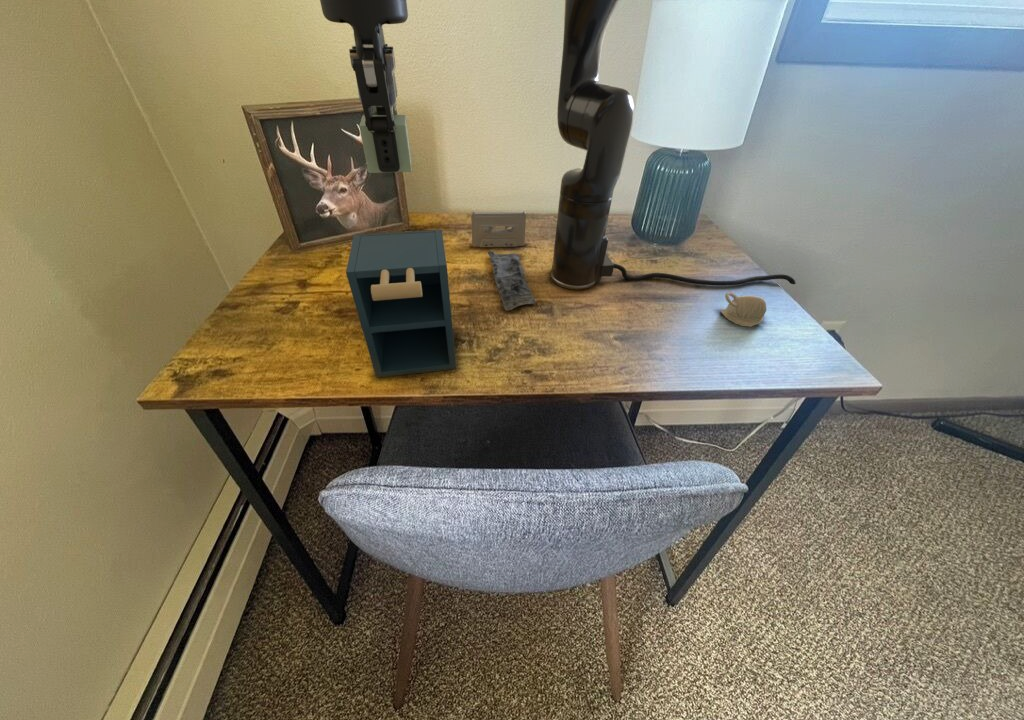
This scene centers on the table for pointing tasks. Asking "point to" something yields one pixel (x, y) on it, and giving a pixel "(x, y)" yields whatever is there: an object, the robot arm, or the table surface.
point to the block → (401, 141)
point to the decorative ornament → (745, 310)
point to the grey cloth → (510, 280)
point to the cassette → (498, 237)
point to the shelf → (403, 301)
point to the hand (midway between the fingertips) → (390, 162)
